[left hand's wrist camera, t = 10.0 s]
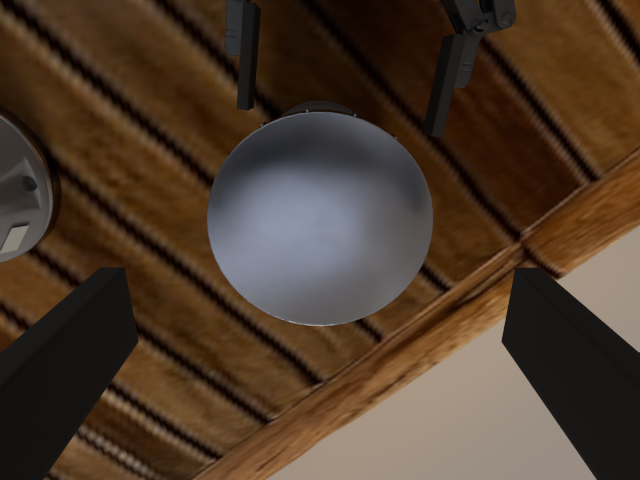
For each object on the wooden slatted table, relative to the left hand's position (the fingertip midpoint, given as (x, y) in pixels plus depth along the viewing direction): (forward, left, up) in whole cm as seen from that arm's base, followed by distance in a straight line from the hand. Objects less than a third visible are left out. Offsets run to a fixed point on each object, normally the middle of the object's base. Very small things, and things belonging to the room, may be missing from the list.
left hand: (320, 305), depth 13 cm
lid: (0, 0, -7) cm, 7 cm away
